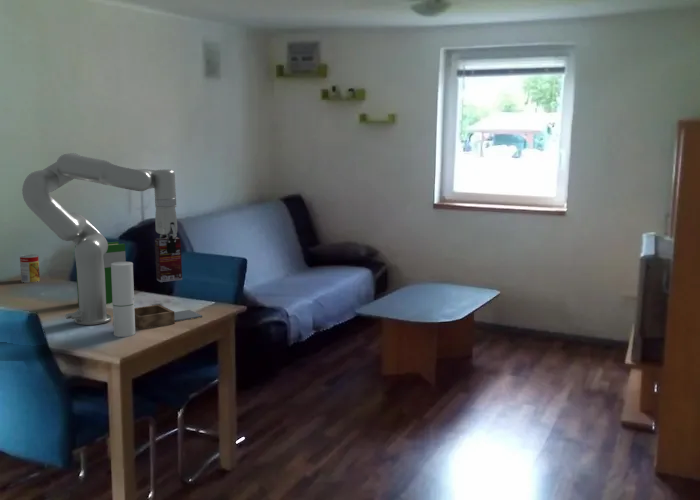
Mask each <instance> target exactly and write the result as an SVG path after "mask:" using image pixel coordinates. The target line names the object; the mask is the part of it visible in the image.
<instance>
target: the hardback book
mask: <svg viewBox="0 0 700 500" xmlns="http://www.w3.org/2000/svg"><path fill="white" fill-rule="evenodd" d="M107 243H108V249H107V252H106V253H105V254H104V255H103V260H104V269H105V287H106V305H107V304H113V302H112V278H111V263H114V262H127V261H126V260H127V259H126V244H125V243H120V242H119V241H112V242H111V241H110V242H109V241H108V242H107ZM74 248H76V245H74ZM75 268H76V272H77V266H76V265H75ZM76 287H77V288H76V289H77V292H78V279H77V278H76ZM77 305H79V296H78V295H77Z"/></svg>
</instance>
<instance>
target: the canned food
mask: <svg viewBox="0 0 700 500" xmlns="http://www.w3.org/2000/svg"><path fill="white" fill-rule="evenodd" d="M39 259H40V258H39V254H32V253H31V254H22V255H20V256H19V264H20V279H21V280H20V282H21V283H23V282H24V283H25V284H29V283H31V282H33V283H38V282H40V281H41V280H40V277H41V276H40V260H39ZM37 281H38V282H37ZM24 283H23V284H24Z"/></svg>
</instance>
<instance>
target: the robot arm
mask: <svg viewBox="0 0 700 500" xmlns="http://www.w3.org/2000/svg"><path fill="white" fill-rule="evenodd" d="M73 180H80V181H85V182H90V183H95V184H102V185H105V186H110V187H114V188H118V189H125V190H129V191H135V192H145V191H147V190H150V189H154V207H155V217H154V218H155V220H154V222H155V232H156V233H157V234H159V238H167V242H168V243H167V253H168V254H169V253H176V244H175V242H176V237H178V218H177V211H176V208H177V193H176V192H177V190H176V173H175V171H174V170H173V169H166V168H165V169H156V170H155V169H148V168H141V169H134V168H131V167H130V168H129V167H124V166H120V165H117V164H113V163H111V162H109V161H107V160H105V159H99V158H93V157H87V156H83V155H80V154H78V153H74V152H70V153H68V152H67V153H63V154H61V156H59V157H58V158H57V160H56V161H55V162H54V163H52V164H50V165H49V166H47V167H46V168H42V169H41V170H34V171H33V172H31V173H30V174H28V175H27V176H26V177H25V179H24V181H23V185H22V189H21V191H22V192H21V194H22V198H23V200H24V203H25V204H26V206H27V207H28V209H30V211H31V212H32V213H33V214H35V215H36V216H37V217H38V218H39V220H41V222H43V224H45V225H46V226H47V227H48V228H49V229H50V230H51V231H52V232H53V233H54V234H55V235H56V236H57V237H58V238H59V239H60V240H62V241H65V242H71V241H72V242H73V243H74V244H75V246H76V248H75V247H74V248H75V249H74V257H75V258H74V259H75V267H76V266H77V271H76V280H77V279H78V291H77V297H78V296H79V304H78V308H77V309H76V311H74V312H69V313H68V312H67V313H65V319H67V320H68V319H71V320H74V321H75V323H76V324H78V325H80V326H81V325H84V326H94V325H101V324H107V323H109V322H110V321H111V320H112V316H111V315H110V314H108V313H107V311H108V310H107V304H106V287H105V269H104V260H103V255H104V254H105V253H106V252H107V249H108V243H109V242H108V240H107V239H106V237H105V236H104V235H103V234H102V233H101V232H100V231H99V230H98V229H97V228H96V227H95V226H94V225H93V224H92V223H91V222H90V221H89V220H88V219H86V217H84V216H83V215H81V214H79V213H76V212H69V211H68V210H67V209H65V208H64V207H63V206H62V205H61V204H60V202H58V201H57V200H56V199H54V198H53V197H52V196H51V194H50V193H52V192H54V191H56V190H59V188H61V187H63V186H65V185H66V184H68V183H69V182H71V181H73Z"/></svg>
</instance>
